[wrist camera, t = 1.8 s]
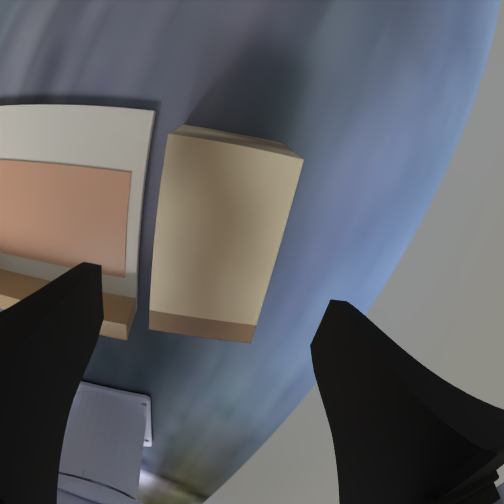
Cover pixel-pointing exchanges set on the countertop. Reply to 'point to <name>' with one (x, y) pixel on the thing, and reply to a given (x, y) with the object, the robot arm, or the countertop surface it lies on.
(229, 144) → the maple block
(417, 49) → the countertop surface
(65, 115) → the arena
